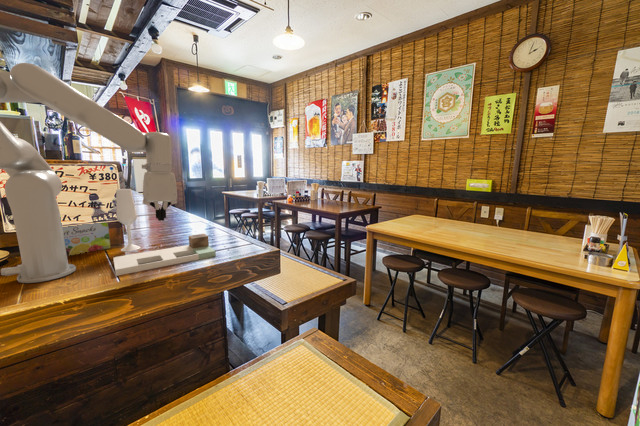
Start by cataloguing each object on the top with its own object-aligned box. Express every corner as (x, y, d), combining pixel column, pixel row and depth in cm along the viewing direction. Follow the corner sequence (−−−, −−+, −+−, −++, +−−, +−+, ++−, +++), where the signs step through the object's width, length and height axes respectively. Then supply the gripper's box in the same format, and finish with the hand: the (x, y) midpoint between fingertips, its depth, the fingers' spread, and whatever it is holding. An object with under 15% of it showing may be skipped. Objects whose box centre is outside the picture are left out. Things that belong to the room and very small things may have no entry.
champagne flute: (120, 252, 103) (112, 190, 99) (121, 247, 108) (113, 189, 104) (140, 249, 107) (134, 189, 102) (140, 245, 112) (134, 188, 108)
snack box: (36, 262, 91) (28, 220, 89) (33, 259, 95) (25, 217, 92) (111, 248, 108) (106, 211, 105) (107, 245, 111) (102, 210, 109)
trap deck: (115, 275, 81) (115, 269, 81) (113, 262, 92) (113, 257, 92) (215, 255, 100) (215, 250, 100) (204, 247, 111) (204, 242, 110)
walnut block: (192, 248, 102) (191, 238, 101) (189, 245, 106) (188, 235, 105) (208, 245, 106) (208, 236, 105) (205, 243, 110) (204, 233, 109)
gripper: (134, 167, 86) (137, 223, 89) (185, 170, 95) (186, 220, 98) (132, 167, 92) (134, 219, 94) (180, 169, 101) (181, 217, 104)
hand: (161, 220), depth 96 cm, fingers closed
